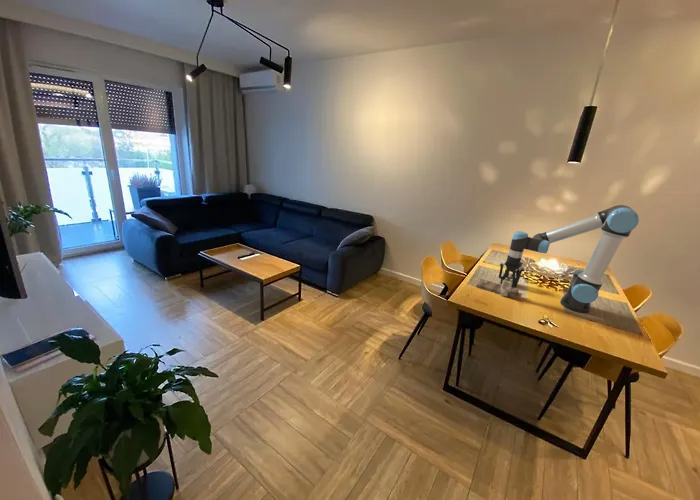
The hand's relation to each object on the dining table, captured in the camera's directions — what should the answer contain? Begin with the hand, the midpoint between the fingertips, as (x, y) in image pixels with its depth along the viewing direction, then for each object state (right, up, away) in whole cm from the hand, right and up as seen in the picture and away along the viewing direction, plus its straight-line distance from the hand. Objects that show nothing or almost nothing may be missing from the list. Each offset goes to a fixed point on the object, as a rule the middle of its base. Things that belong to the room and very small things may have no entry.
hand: (505, 290), depth 195 cm
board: (-2, -1, +7) cm, 7 cm away
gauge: (0, -3, +1) cm, 3 cm away
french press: (+11, +2, +17) cm, 20 cm away
